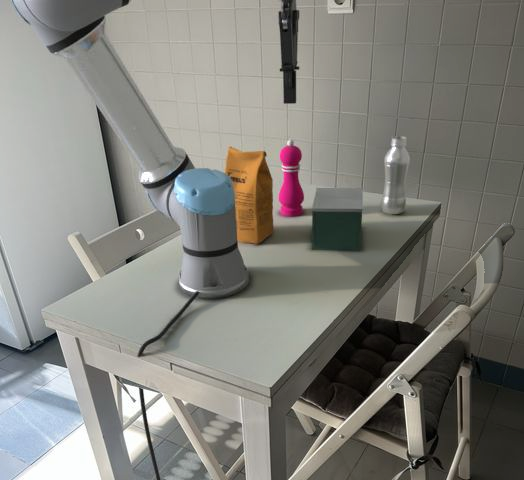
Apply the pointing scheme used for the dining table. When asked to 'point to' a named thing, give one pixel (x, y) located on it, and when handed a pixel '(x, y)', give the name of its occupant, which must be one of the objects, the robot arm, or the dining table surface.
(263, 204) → the coffee package
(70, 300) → the dining table surface
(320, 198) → the lid
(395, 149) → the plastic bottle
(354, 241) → the tin
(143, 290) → the dining table surface
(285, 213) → the pepper mill
